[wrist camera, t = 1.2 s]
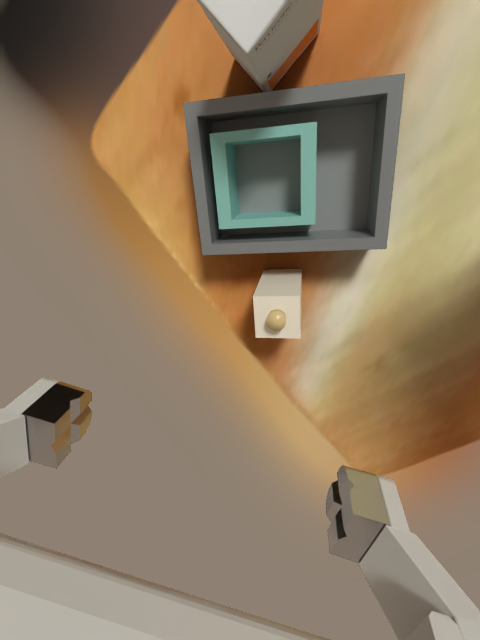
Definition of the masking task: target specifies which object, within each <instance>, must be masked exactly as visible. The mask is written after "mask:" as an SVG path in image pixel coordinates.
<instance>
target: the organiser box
mask: <svg viewBox="0 0 480 640" xmlns="http://www.w3.org/2000/svg"><path fill="white" fill-rule="evenodd" d="M404 78H405V73H404V74H397V75H389V76H382V77H374V78H367V79H359V80H352V81H344V82H337V83H329V84H322V85H314V86H307V87H299V88H292V89H284V90H277V91H269V92H262V93H254V94H247V95H239V96H232V97H224V98H217V99H209V100H202V101H194V102H187V103H183V106H184V114H185V122H186V130H187V138H188V145H189V153H190V161H191V169H192V177H193V185H194V192H195V200H196V208H197V216H198V224H199V232H200V239H201V247H202V255H226V254H254V253H283V252H312V251H341V250H369V249H386V248H387V238H388V229H389V219H390V210H391V201H392V191H393V182H394V172H395V163H396V154H397V144H398V135H399V125H400V116H401V107H402V97H403V88H404ZM310 122H317V151H316V214H315V224H313V225H294V226H274V227H254V228H235V229H219V222H218V213H217V203H216V193H215V183H214V174H213V164H212V154H211V145H210V135H209V134H211V133H220V132H229V131H238V130H247V129H256V128H265V127H274V126H283V125H292V124H301V123H310ZM235 156H236V169H237V182H238V196H239V209H240V214H245V213H261V212H278V211H295V210H301V139H291V140H282V141H272V142H262V143H252V144H243V145H235Z"/></svg>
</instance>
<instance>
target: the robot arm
mask: <svg viewBox="0 0 480 640" xmlns="http://www.w3.org/2000/svg"><path fill="white" fill-rule="evenodd" d="M91 401H92V392H90V391H89V390H86V389H83V388H79V387H77V386H73V385H70V384H67V383H64V382H60V381H57V380H54V379H51V378H48V377H45V378H42V379H40V380H39V381H38V382H36V383H35V384H34V385H32V386H31V387H30V388H29V389H27V390H26V391H25V392H24V393H23V394H21V395H20V396H19V397H18V398H16V399H15V400H14V401H13V402H11V403H10V404H9V405H8V406H6V407H5V408H4V409H1V408H0V478H2V477H4V476H6V475H7V474H9V473H11V472H13V471H15V470H17V469H19V468H20V467H22V466H24V465H26V464H27V463H29V461H31V462H35V463H38V464H42V465H45V466H49V467H53V468H56V469H57V467H58V466H59V465H60V464H61V463H62V461H63V460H64V459H65V458H66V456H67V455H68V454H69V453H70V452H71V444H72V443H74V442H77V441H79V440H80V439H81V438H82V437H83V435H84V434H85V432H86V430H87V428H88V427H89V425H90V421H91V417H92V411H91V409H90V408H89V406H88V405H89V403H90V402H91ZM337 478H338V480H337V481H335V482H333V483H332V484H331V486H330V488H329V490H328V495H327V500H326V515H327V517H328V518H329V520H330V521H331V525H330V527H329V529H328V539H329V550H330V553H331V554H333V555H336V556H339V557H342V558H346V559H348V560H351V561H354V562H357V563H359V566H360V568H361V570H362V572H363V574H364V576H365V578H366V580H367V582H368V583H369V585H370V587H371V589H372V591H373V593H374V595H375V596H376V598H377V600H378V602H379V604H380V606H381V608H382V610H383V611H384V613H385V615H386V617H387V619H388V621H389V623H390V624H391V626H392V628H393V630H394V632H395V634H396V636H397V638H398V639H399V640H480V611H479V610H478V608H477V607H476V606H475V605H474V604H473V603H472V601H471V600H470V599H469V598H468V596H467V595H466V594H465V593H464V592H463V590H462V589H461V588H460V587H459V586H458V584H457V583H456V582H455V581H454V579H453V578H452V577H451V576H450V575H449V573H448V572H447V571H446V570H445V569H444V568H443V566H442V565H441V564H440V563H439V562H438V560H437V559H436V558H435V557H434V556H433V554H432V553H431V552H430V551H429V549H428V548H427V547H426V546H425V545H424V544H423V542H422V541H421V540H420V539H419V537H418V536H417V535H416V534H414V533H411V532H410V529H409V526H408V523H407V519H406V516H405V513H404V510H403V507H402V504H401V500H400V497H399V494H398V491H397V488H396V485H395V482H394V481H393V480H392V479H389V478H386V477H383V476H379V475H374V474H372V473H368V472H365V471H361V470H358V469H354V468H351V467H347V466H344V465H343V466H341V467H340V469H339V471H338V472H337ZM0 640H329V639H326V638H323V637H320V636H317V635H314V634H311V633H308V632H305V631H302V630H298V629H295V628H292V627H289V626H286V625H283V624H280V623H277V622H274V621H271V620H268V619H265V618H262V617H259V616H255V615H252V614H249V613H246V612H243V611H240V610H237V609H234V608H231V607H227V606H225V605H221V604H218V603H215V602H212V601H209V600H206V599H203V598H200V597H197V596H194V595H191V594H188V593H184V592H181V591H178V590H175V589H172V588H169V587H166V586H163V585H159V584H156V583H153V582H150V581H147V580H144V579H141V578H138V577H135V576H132V575H129V574H125V573H122V572H119V571H116V570H113V569H110V568H107V567H103V566H101V565H98V564H94V563H91V562H88V561H85V560H82V559H79V558H76V557H73V556H70V555H67V554H63V553H60V552H57V551H54V550H51V549H48V548H45V547H42V546H39V545H36V544H33V543H29V542H26V541H23V540H20V539H17V538H14V537H11V536H8V535H5V534H2V533H0Z"/></svg>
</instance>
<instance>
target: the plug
mask: <svg viewBox="0 0 480 640" xmlns="http://www.w3.org/2000/svg"><path fill="white" fill-rule="evenodd" d="M253 305H254V320H255V335H256V338H300V337H301V313H302V269H275V270H264V271H263V273H262V276H261V278H260V281H259V283H258V285H257V288H256V290H255V293H254V295H253Z"/></svg>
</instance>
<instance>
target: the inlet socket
mask: <svg viewBox="0 0 480 640" xmlns="http://www.w3.org/2000/svg"><path fill="white" fill-rule="evenodd" d="M209 135H210V145H211V154H212V164H213V174H214V183H215V193H216V203H217V213H218V222H219V229H235V228H254V227H274V226H294V225H313V224H315V214H316V151H317V122H310V123H301V124H292V125H283V126H274V127H265V128H256V129H247V130H238V131H229V132H220V133H211V134H209ZM291 139H301V210H295V211H278V212H261V213H245V214H240V209H239V196H238V182H237V169H236V156H235V145H243V144H252V143H262V142H272V141H282V140H291Z"/></svg>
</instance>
